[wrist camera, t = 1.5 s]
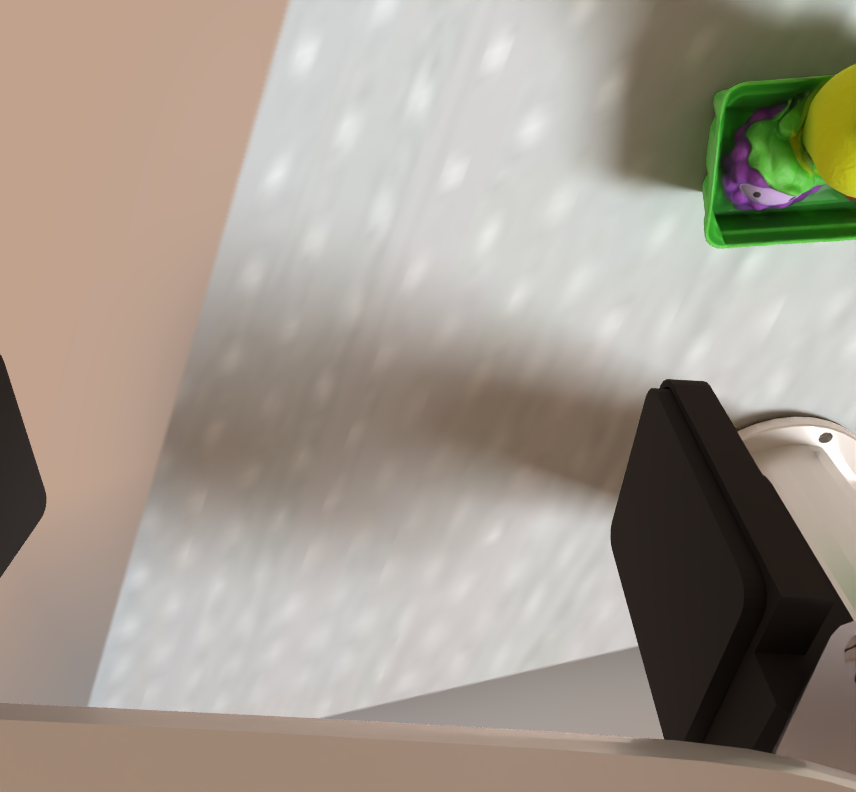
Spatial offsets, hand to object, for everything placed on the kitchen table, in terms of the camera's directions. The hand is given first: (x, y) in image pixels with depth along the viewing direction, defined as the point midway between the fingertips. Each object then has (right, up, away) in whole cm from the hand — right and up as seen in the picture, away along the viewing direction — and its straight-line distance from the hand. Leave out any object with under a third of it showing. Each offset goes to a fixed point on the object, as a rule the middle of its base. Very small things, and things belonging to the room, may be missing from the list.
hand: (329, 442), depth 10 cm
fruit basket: (+20, +15, +26) cm, 36 cm away
